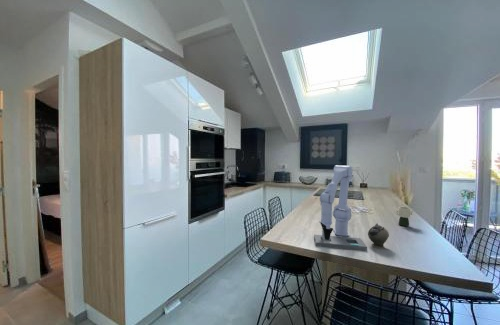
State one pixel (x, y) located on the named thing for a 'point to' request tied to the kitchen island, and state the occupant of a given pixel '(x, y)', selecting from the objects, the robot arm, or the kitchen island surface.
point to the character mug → (404, 215)
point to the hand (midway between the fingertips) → (326, 237)
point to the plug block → (324, 236)
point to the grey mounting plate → (341, 242)
